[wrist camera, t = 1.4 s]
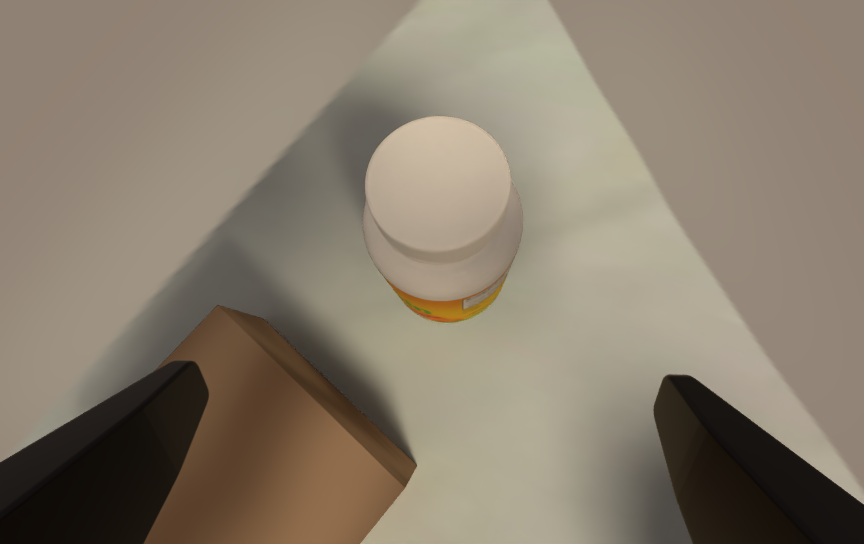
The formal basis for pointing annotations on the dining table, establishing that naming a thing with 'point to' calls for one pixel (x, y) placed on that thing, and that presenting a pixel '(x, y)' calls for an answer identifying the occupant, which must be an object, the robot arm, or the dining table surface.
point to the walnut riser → (274, 448)
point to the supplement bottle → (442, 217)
